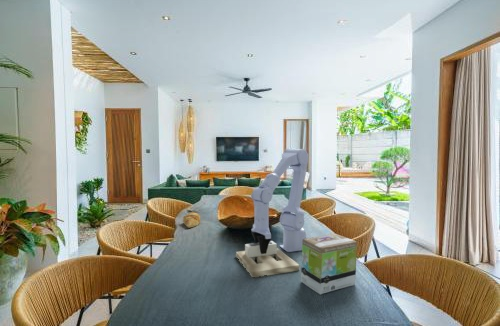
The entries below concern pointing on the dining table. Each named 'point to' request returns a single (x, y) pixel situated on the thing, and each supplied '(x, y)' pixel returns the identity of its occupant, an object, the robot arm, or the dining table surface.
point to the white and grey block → (254, 250)
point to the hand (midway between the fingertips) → (261, 251)
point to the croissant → (191, 219)
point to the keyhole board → (268, 264)
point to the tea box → (328, 262)
